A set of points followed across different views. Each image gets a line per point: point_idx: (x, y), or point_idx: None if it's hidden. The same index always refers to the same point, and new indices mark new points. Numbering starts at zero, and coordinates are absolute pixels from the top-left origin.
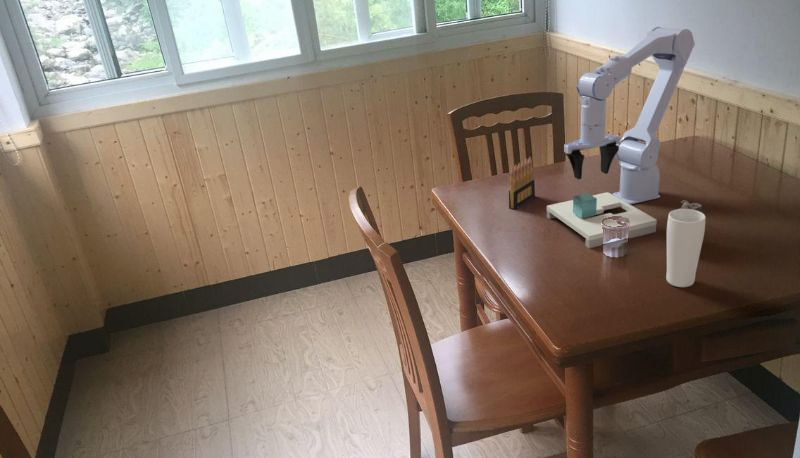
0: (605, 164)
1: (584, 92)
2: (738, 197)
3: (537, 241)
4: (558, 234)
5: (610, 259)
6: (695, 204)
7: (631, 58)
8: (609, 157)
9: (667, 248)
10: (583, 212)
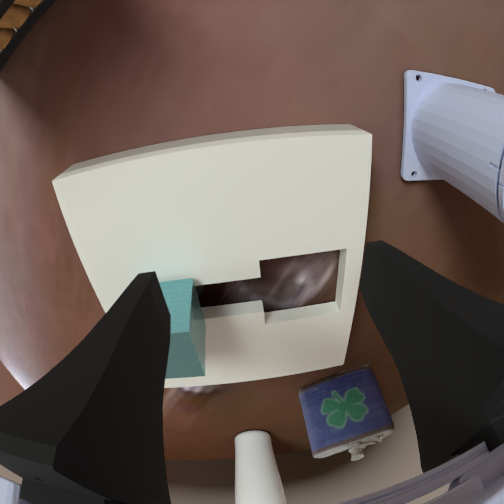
0: (391, 322)
1: None
2: None
3: (42, 303)
4: (92, 289)
5: (182, 394)
6: (380, 439)
7: None
8: (410, 399)
9: (235, 482)
10: None
